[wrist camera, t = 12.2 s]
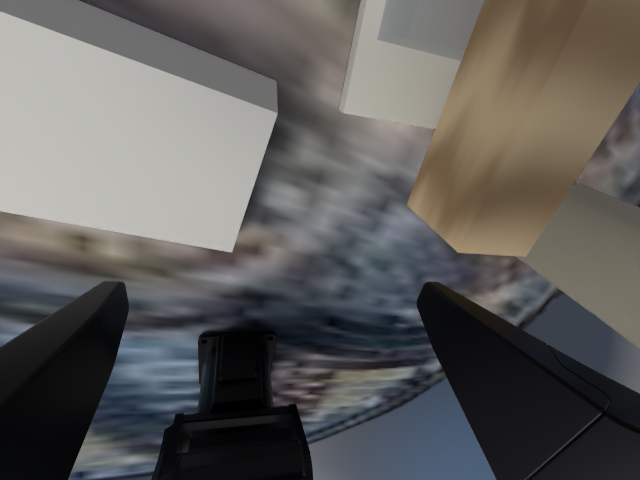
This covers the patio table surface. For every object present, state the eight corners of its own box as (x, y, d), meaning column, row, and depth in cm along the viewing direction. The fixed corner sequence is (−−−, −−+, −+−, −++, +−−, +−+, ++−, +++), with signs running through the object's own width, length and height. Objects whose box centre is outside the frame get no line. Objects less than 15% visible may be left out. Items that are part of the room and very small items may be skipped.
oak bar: (619, -358, 9) (967, -738, 4) (700, -280, 10) (1035, -523, 6) (406, 205, 17) (458, 252, 13) (462, 211, 18) (525, 256, 14)
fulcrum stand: (495, 138, 21) (548, 155, 18) (338, 110, 18) (364, 125, 14) (579, -46, 17) (678, -74, 13) (386, -131, 13) (443, -203, 9)
